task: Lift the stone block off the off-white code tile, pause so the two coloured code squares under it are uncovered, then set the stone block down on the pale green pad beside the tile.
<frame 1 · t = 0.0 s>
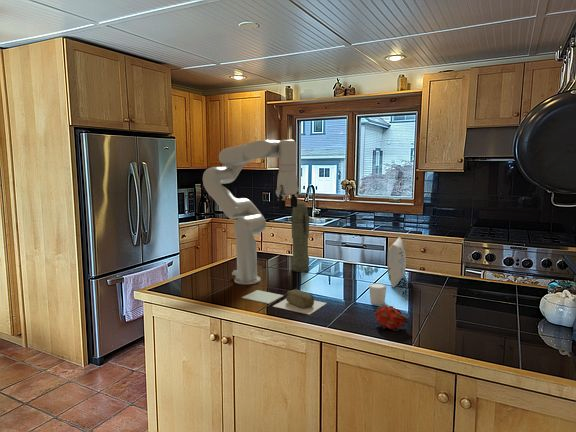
hand: (288, 208, 182), 37 cm above the counter, tool pointing down, fingers open, 9 cm apart
dragon fruit: (390, 328, 144), on the counter
pale green pad: (262, 297, 177), on the counter
pouch: (396, 282, 195), on the counter
olive stone pillar: (300, 270, 218), on the counter
white cylinder: (377, 302, 169), on the counter
code tile: (299, 304, 167), on the counter
stone block: (299, 304, 167), resting on code tile
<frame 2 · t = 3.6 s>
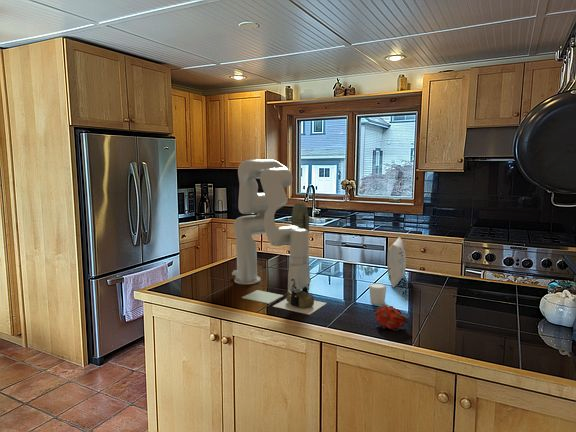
hand: (299, 302, 167), 1 cm above the counter, tool pointing down, fingers closed on stone block, 7 cm apart
stone block: (299, 304, 167), resting on code tile, touching gripper
everything else where it was.
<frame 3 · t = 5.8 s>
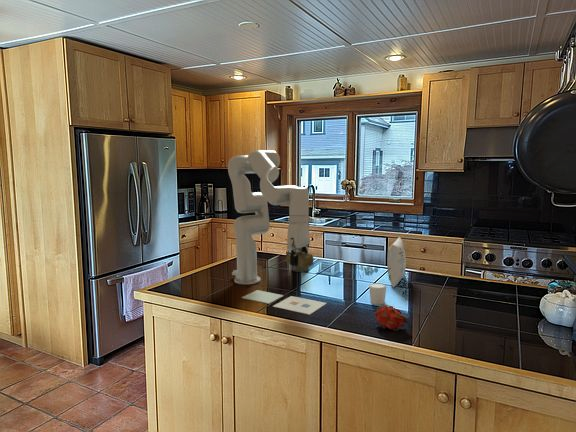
hand: (299, 262, 164), 17 cm above the counter, tool pointing down, fingers closed on stone block, 7 cm apart
stone block: (299, 265, 165), point 16 cm above the counter, touching gripper
everything else where it was.
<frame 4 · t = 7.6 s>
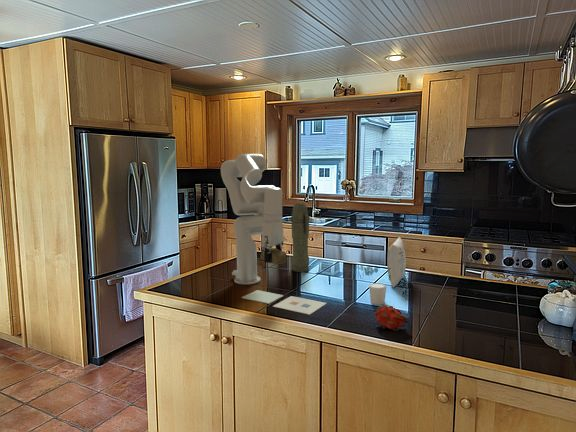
hand: (273, 259, 172), 17 cm above the counter, tool pointing down, fingers closed on stone block, 7 cm apart
stone block: (273, 262, 172), point 16 cm above the counter, touching gripper
everything else where it was.
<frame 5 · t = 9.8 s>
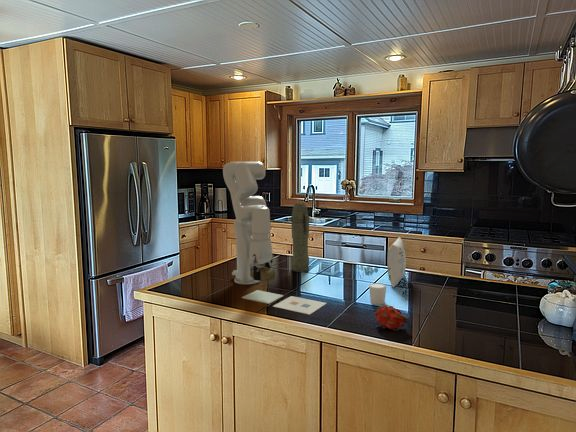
hand: (262, 277, 175), 9 cm above the counter, tool pointing down, fingers closed on stone block, 7 cm apart
stone block: (262, 279, 175), point 8 cm above the counter, touching gripper
everything else where it was.
when the fingers open (3 cm above the counter, at t = 11.9 s): stone block drops 2 cm, resting on pale green pad.
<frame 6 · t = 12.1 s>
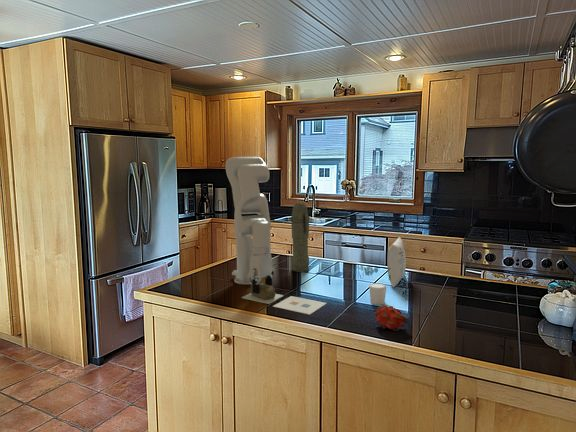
hand: (262, 290, 176), 3 cm above the counter, tool pointing down, fingers open, 8 cm apart
stone block: (262, 296, 177), resting on pale green pad
everything else where it was.
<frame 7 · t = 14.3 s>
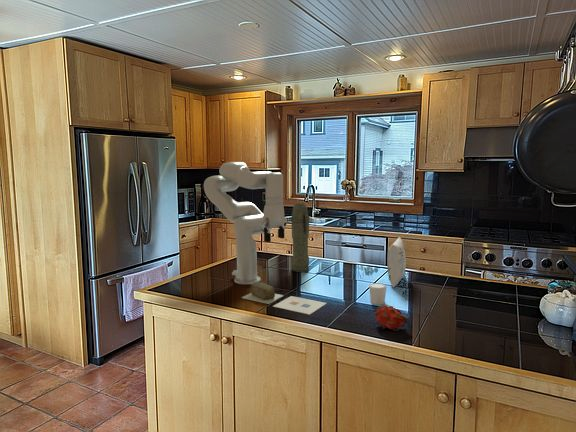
hand: (274, 239, 182), 23 cm above the counter, tool pointing down, fingers open, 9 cm apart
nothing on the counter moved.
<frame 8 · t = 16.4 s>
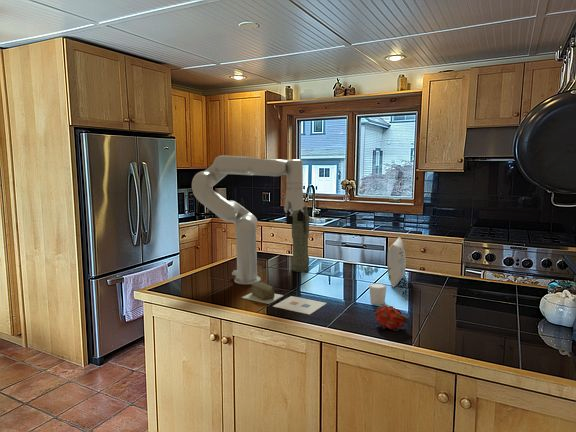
hand: (295, 222, 195), 28 cm above the counter, tool pointing down, fingers open, 9 cm apart
nothing on the counter moved.
at the end: stone block 0.1 cm off-centre on the pale green pad, point 0.2 cm above the pale green pad's base; stone block tilted 0°; the gripper is holding nothing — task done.
